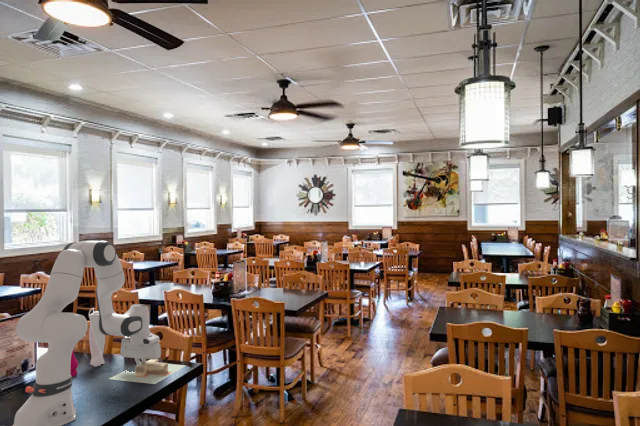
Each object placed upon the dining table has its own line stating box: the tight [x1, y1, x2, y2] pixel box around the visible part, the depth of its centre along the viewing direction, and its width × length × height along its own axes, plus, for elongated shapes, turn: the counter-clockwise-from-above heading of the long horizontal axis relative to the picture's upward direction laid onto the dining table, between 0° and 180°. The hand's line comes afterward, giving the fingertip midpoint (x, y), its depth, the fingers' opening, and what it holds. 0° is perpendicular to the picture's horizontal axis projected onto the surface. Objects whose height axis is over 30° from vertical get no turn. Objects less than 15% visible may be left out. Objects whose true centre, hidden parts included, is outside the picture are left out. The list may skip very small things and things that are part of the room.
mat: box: [108, 363, 187, 385], centre depth 211 cm, size 24×25×1 cm
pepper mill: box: [70, 346, 79, 378], centre depth 209 cm, size 7×7×20 cm
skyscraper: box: [88, 307, 106, 368], centre depth 224 cm, size 8×7×28 cm
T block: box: [135, 358, 169, 376], centre depth 211 cm, size 12×12×4 cm
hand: (140, 366), depth 213 cm, fingers closed
